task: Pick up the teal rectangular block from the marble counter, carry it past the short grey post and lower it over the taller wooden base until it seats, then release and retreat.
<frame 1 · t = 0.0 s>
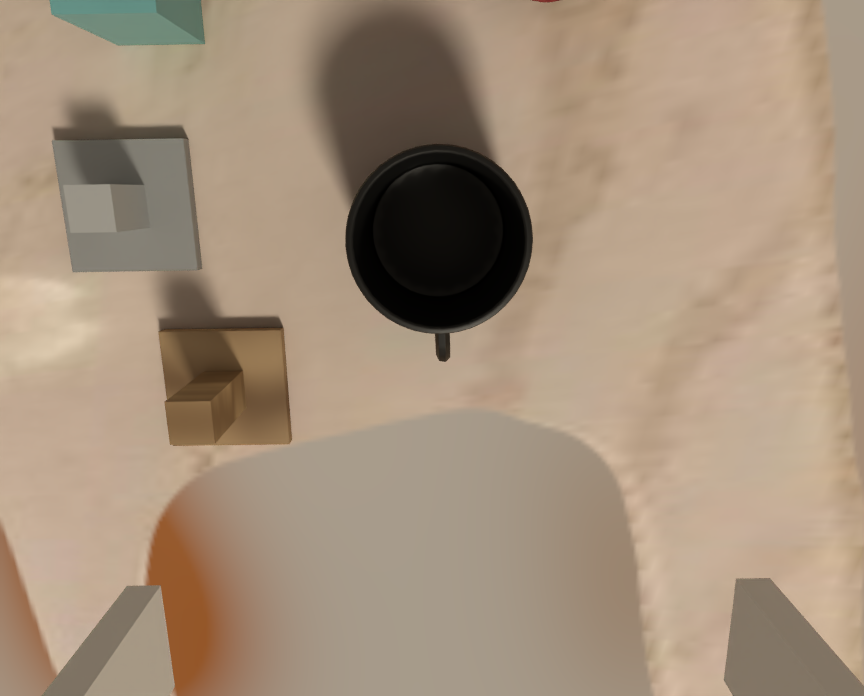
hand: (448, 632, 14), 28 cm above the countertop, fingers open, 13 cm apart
mug: (438, 251, 40), on the countertop
wooden base: (229, 385, 42), on the countertop
grey post: (132, 206, 39), on the countertop
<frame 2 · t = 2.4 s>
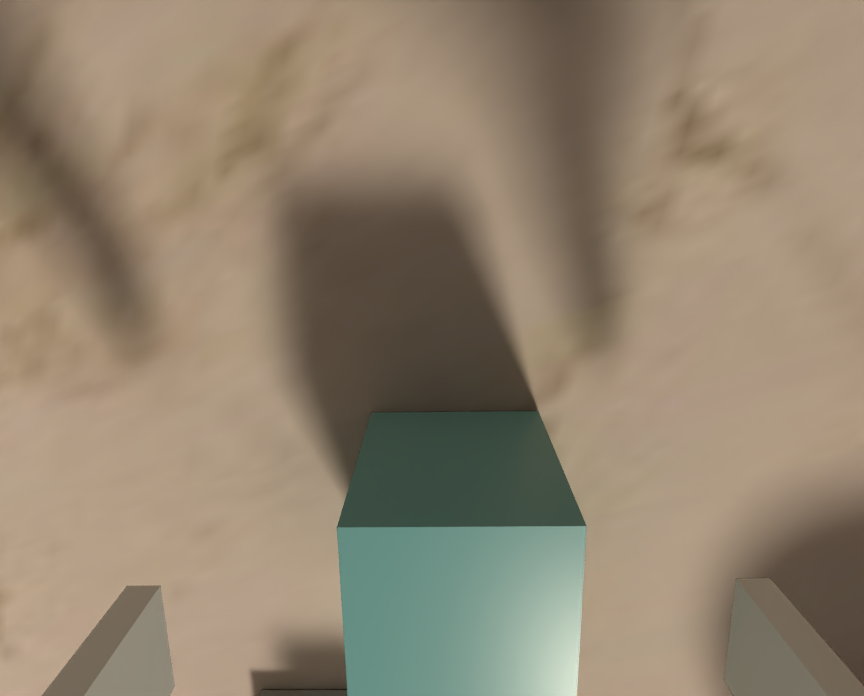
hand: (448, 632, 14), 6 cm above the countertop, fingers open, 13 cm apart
teal rectangular block: (455, 487, 20), on the countertop
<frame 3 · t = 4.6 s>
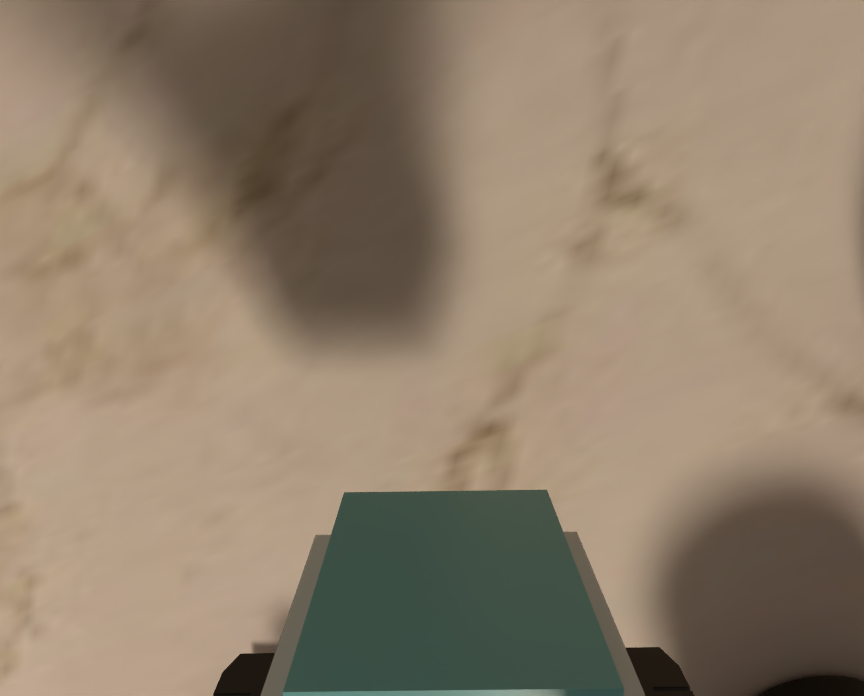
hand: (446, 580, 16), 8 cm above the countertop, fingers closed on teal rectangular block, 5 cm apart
teal rectangular block: (446, 580, 16), point 7 cm above the countertop, touching gripper
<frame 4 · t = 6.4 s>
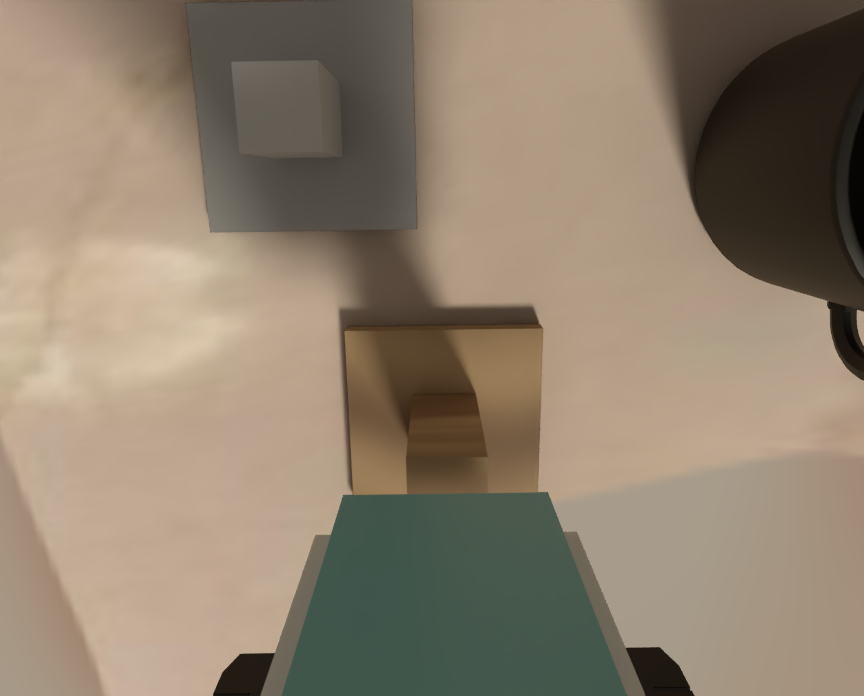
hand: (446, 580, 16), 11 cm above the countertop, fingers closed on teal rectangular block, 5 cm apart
teal rectangular block: (446, 583, 16), point 11 cm above the countertop, touching gripper
mug: (805, 199, 24), on the countertop
wooden base: (444, 415, 27), on the countertop
grey post: (310, 123, 24), on the countertop
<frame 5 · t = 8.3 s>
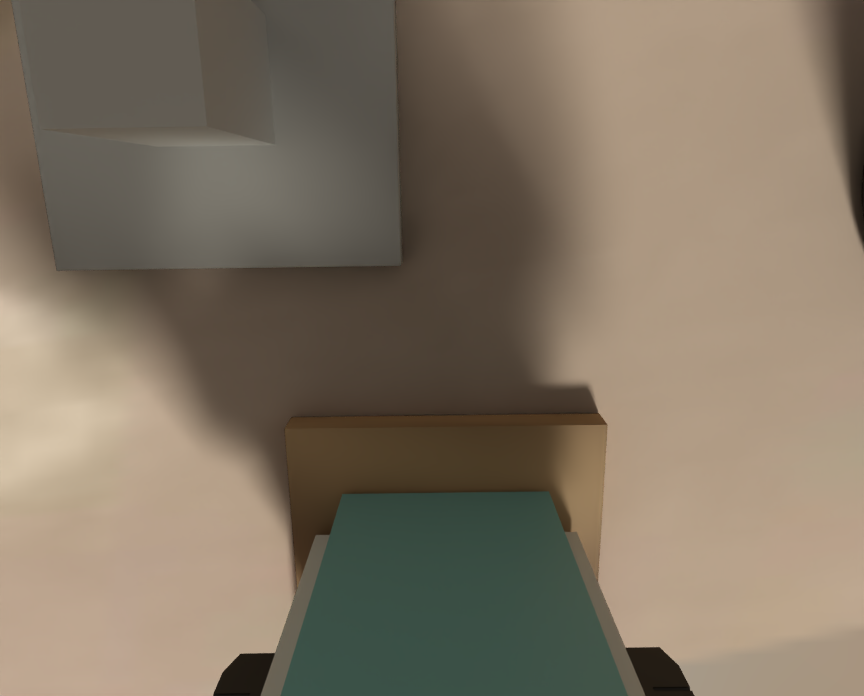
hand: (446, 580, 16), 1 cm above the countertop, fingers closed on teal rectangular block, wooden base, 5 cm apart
teal rectangular block: (446, 583, 16), point 1 cm above the countertop, touching gripper, wooden base
wooden base: (446, 551, 17), on the countertop
grey post: (222, 88, 14), on the countertop
when the fingers open (1 cm above the countertop, at t = 8.4 s): teal rectangular block stays where it is, resting on wooden base.
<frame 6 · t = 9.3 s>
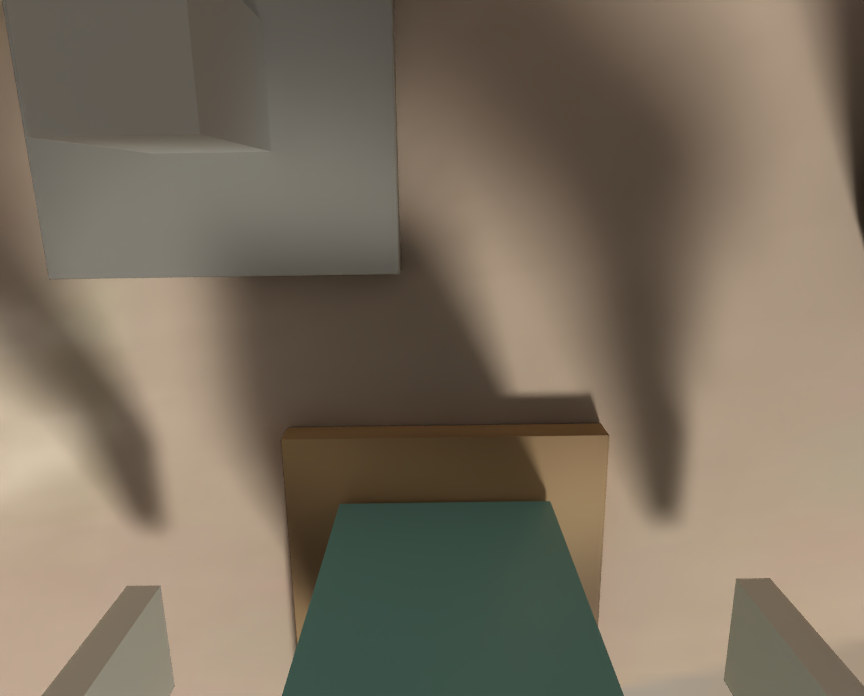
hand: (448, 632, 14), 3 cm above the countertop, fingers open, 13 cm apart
teal rectangular block: (445, 594, 16), point 1 cm above the countertop, touching wooden base
wooden base: (445, 563, 17), on the countertop
grey post: (217, 94, 14), on the countertop
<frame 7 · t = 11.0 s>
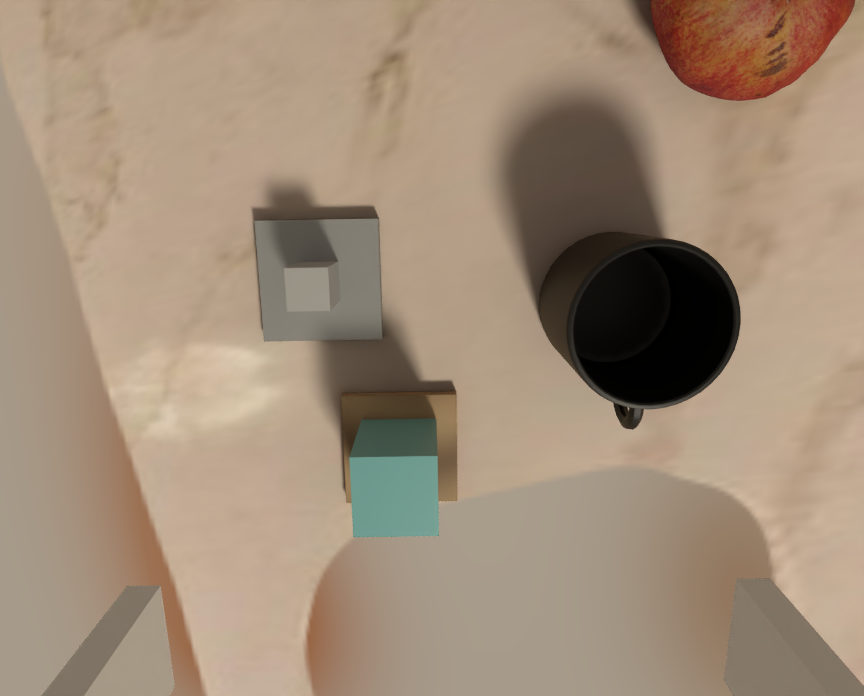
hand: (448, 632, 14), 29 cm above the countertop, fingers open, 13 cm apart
teal rectangular block: (400, 454, 43), point 1 cm above the countertop, touching wooden base
fruit: (709, 21, 38), on the countertop
mug: (606, 319, 42), on the countertop
wooden base: (400, 445, 44), on the countertop
grey post: (321, 279, 42), on the countertop
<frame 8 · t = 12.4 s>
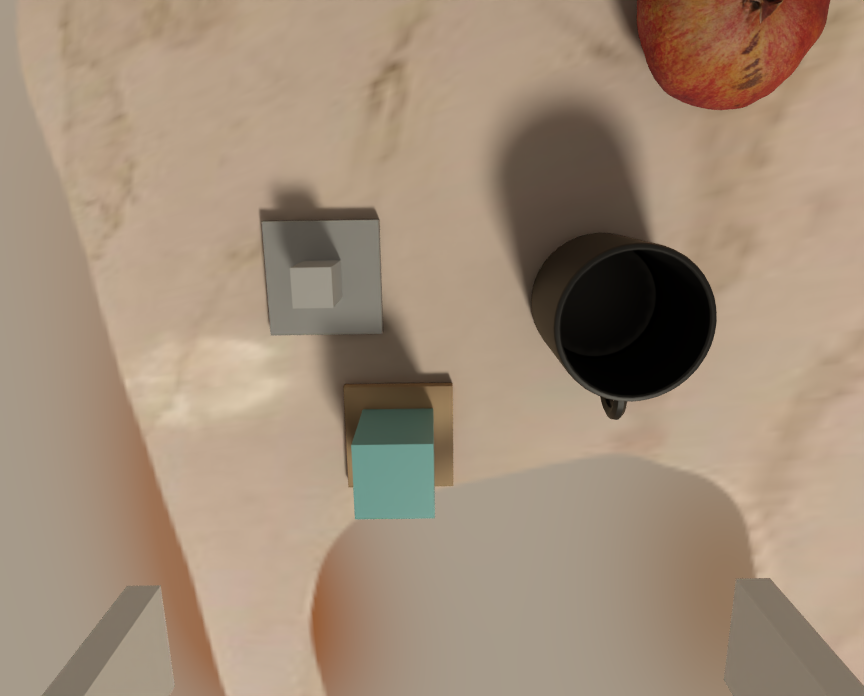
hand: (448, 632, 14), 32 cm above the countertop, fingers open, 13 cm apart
teal rectangular block: (399, 441, 46), point 1 cm above the countertop, touching wooden base
fruit: (693, 32, 40), on the countertop
mug: (594, 315, 45), on the countertop
wooden base: (399, 433, 47), on the countertop
grey post: (325, 277, 44), on the countertop
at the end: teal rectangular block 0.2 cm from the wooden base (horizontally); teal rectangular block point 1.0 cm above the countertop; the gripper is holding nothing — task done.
